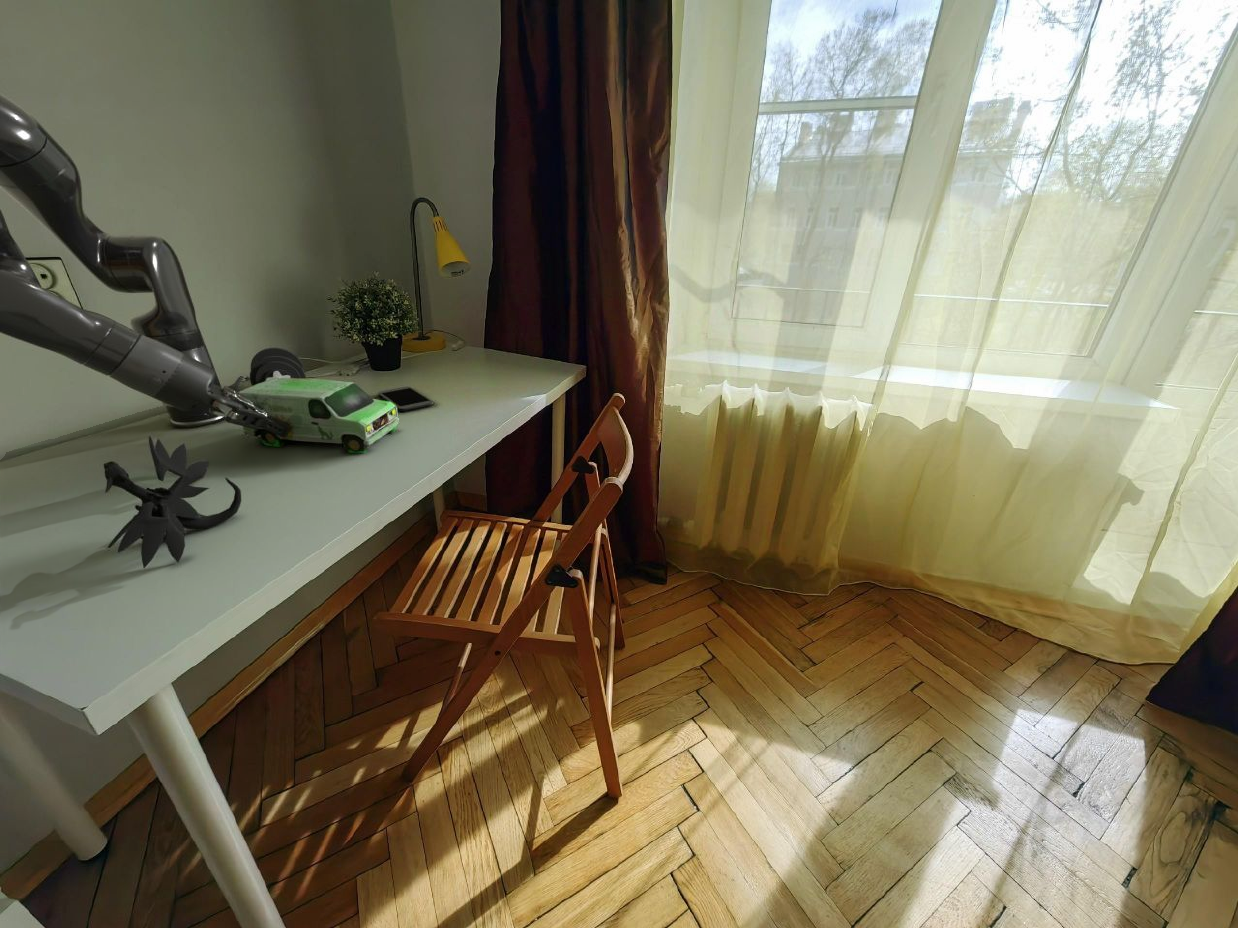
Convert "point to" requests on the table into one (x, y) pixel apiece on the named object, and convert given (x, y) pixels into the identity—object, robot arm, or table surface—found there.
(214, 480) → the table surface
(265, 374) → the dumbbell
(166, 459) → the figurine
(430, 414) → the table surface
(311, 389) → the toy car
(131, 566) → the table surface
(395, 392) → the smartphone
